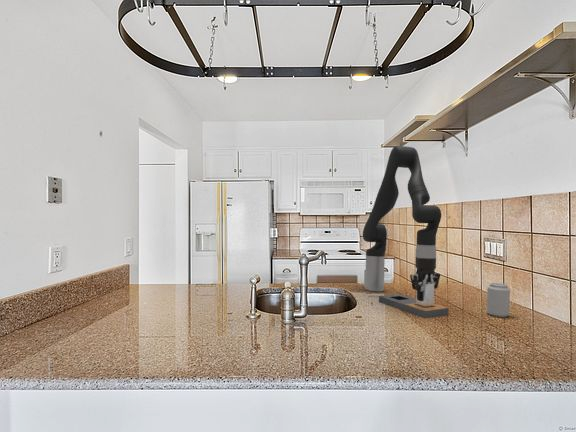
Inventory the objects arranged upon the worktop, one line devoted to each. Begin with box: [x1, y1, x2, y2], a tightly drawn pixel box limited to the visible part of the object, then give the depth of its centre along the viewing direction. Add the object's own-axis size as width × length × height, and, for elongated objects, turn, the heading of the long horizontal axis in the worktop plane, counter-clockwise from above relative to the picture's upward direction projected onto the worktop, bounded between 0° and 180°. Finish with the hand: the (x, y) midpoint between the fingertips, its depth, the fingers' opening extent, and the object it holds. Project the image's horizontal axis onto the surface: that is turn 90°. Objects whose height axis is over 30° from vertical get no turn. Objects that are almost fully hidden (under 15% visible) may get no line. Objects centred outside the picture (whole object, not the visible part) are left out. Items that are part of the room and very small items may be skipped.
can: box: [486, 282, 511, 318], centre depth 139 cm, size 8×8×12 cm
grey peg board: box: [378, 293, 449, 319], centre depth 147 cm, size 26×12×3 cm, turn 25°
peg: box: [415, 282, 435, 308], centre depth 141 cm, size 4×4×10 cm
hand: (424, 300), depth 141 cm, fingers closed on peg, 4 cm apart
